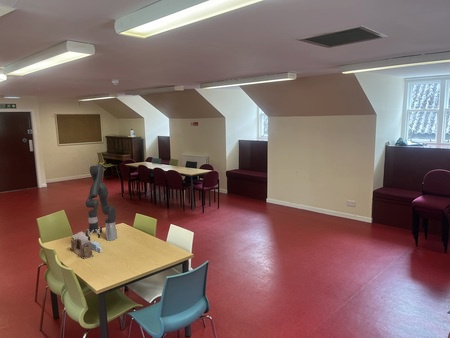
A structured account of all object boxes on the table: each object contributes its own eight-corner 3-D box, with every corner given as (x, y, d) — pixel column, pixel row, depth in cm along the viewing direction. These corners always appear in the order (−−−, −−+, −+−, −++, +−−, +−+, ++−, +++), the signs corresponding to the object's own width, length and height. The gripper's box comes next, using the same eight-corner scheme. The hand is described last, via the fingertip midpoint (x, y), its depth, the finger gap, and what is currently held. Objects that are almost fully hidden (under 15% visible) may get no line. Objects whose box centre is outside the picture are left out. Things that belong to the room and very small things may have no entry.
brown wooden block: (79, 247, 294) (78, 238, 292) (93, 256, 274) (92, 246, 272) (70, 250, 288) (69, 240, 287) (84, 259, 268) (83, 248, 267)
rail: (92, 245, 298) (92, 239, 297) (103, 252, 282) (103, 245, 282) (88, 246, 295) (87, 240, 294) (99, 253, 280) (98, 246, 279)
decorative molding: (81, 250, 294) (92, 245, 299) (79, 246, 293) (90, 240, 298) (73, 240, 321) (83, 235, 327) (71, 235, 320) (81, 231, 325)
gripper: (99, 219, 293) (100, 236, 295) (83, 222, 283) (84, 240, 285) (102, 220, 287) (103, 238, 289) (86, 224, 277) (87, 242, 279)
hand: (94, 239), depth 287 cm, fingers open, 8 cm apart
